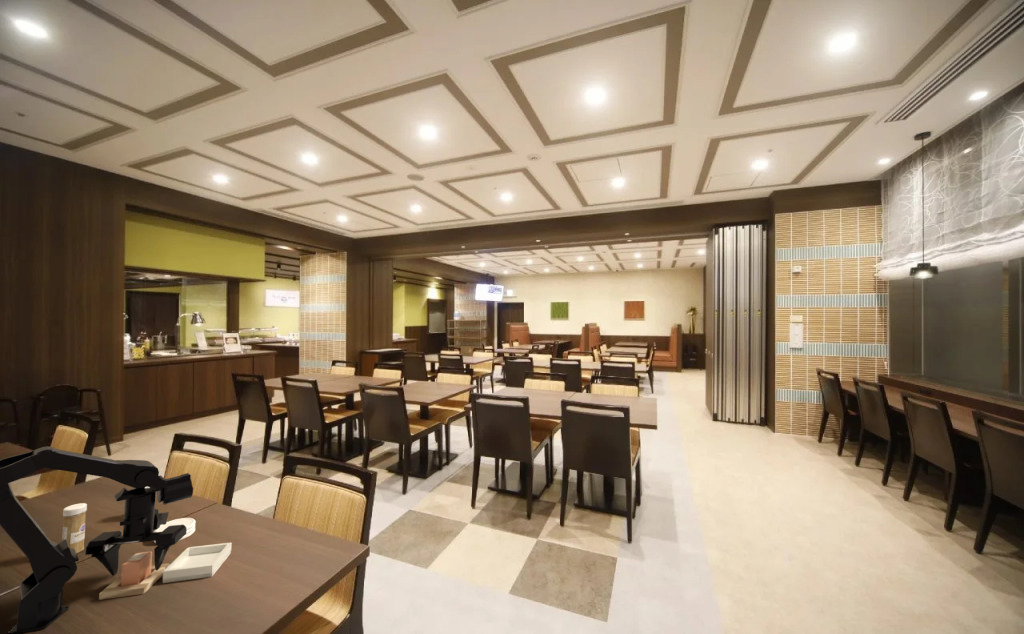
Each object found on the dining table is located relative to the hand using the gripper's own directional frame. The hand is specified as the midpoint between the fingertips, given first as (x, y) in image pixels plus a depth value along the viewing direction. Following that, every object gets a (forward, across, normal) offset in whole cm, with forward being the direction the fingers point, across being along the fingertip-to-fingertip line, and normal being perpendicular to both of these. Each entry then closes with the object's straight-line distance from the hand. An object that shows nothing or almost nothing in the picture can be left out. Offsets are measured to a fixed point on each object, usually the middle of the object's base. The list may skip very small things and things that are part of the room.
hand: (136, 571), depth 97 cm
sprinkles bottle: (+3, +27, -20) cm, 34 cm away
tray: (+3, -12, -4) cm, 13 cm away
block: (+3, 0, 0) cm, 3 cm away
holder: (+3, 0, 0) cm, 3 cm away
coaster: (+3, +4, -24) cm, 25 cm away
